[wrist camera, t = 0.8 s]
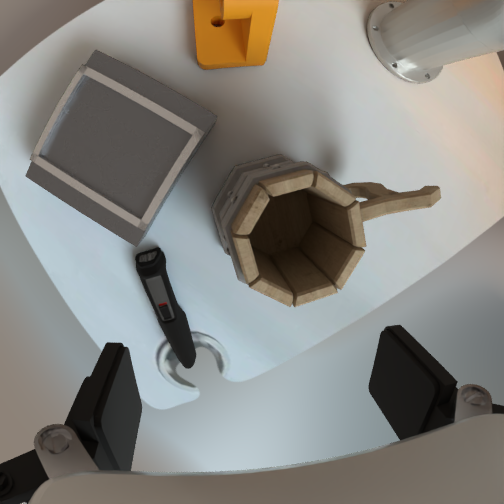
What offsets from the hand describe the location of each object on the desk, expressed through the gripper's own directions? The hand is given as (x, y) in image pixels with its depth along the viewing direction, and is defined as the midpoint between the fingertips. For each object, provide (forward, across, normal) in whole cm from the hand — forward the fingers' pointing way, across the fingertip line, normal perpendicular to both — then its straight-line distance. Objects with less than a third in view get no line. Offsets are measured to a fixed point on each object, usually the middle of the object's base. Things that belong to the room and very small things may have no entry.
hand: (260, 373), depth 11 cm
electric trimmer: (+28, +7, +10) cm, 31 cm away
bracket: (+28, 0, -23) cm, 36 cm away
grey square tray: (+28, +12, -9) cm, 31 cm away
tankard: (+28, -9, -2) cm, 29 cm away
